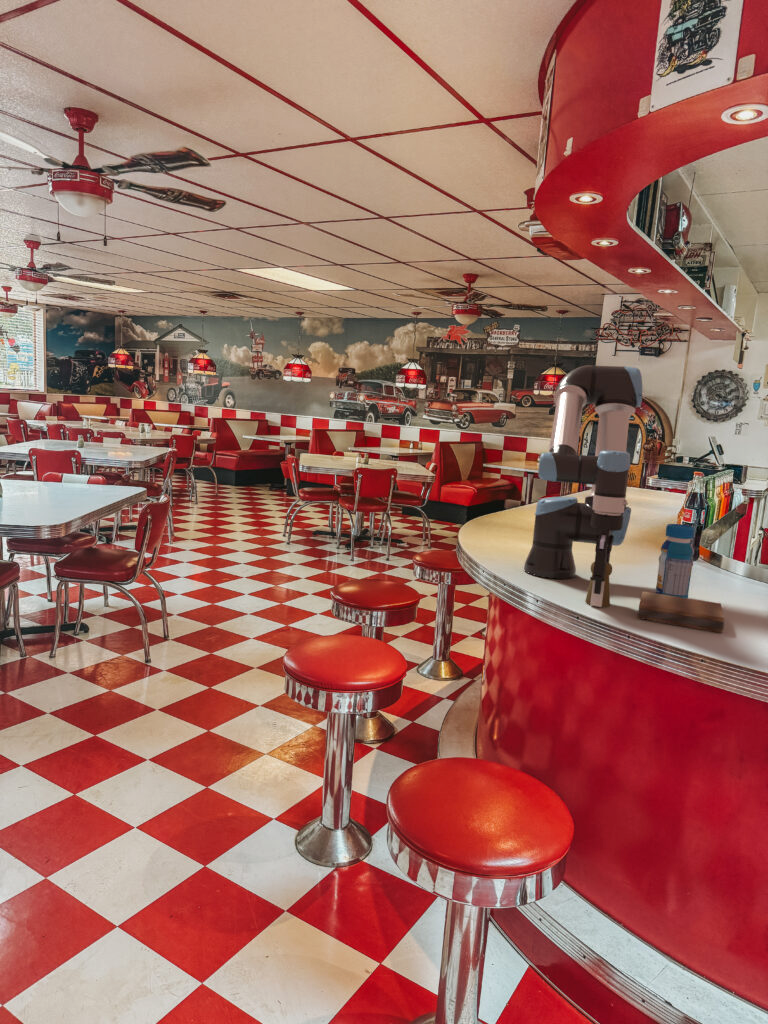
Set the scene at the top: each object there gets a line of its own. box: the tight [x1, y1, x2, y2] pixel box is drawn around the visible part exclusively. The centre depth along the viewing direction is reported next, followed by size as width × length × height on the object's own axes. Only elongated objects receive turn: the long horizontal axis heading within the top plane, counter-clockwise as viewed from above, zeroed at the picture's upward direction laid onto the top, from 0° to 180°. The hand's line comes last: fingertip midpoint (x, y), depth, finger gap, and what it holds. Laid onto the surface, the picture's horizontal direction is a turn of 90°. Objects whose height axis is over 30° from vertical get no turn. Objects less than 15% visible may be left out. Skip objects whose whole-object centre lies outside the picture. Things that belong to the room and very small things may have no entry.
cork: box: [584, 561, 613, 608], centre depth 163 cm, size 6×6×11 cm
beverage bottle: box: [654, 523, 695, 599], centre depth 172 cm, size 8×8×20 cm
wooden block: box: [637, 591, 725, 634], centre depth 155 cm, size 18×15×4 cm
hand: (597, 602), depth 164 cm, fingers closed on cork, 6 cm apart
